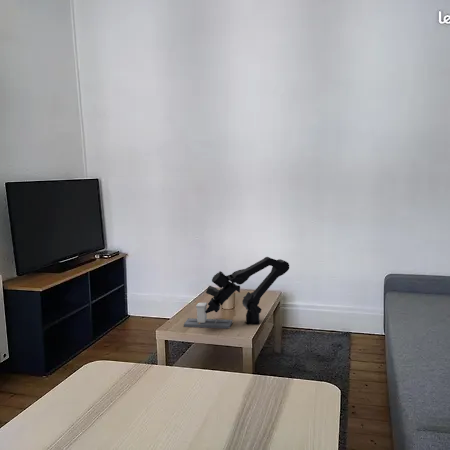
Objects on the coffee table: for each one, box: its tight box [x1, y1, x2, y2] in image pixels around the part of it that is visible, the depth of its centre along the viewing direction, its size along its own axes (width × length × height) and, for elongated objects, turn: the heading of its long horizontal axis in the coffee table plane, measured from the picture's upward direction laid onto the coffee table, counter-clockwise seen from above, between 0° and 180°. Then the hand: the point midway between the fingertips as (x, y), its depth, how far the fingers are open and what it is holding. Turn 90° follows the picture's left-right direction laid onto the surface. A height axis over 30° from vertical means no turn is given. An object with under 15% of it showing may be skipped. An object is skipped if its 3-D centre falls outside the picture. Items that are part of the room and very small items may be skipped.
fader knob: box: [195, 302, 208, 323], centre depth 241 cm, size 5×6×9 cm
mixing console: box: [183, 317, 233, 329], centre depth 241 cm, size 24×9×2 cm, turn 80°
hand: (206, 312), depth 240 cm, fingers closed, pressing on fader knob
